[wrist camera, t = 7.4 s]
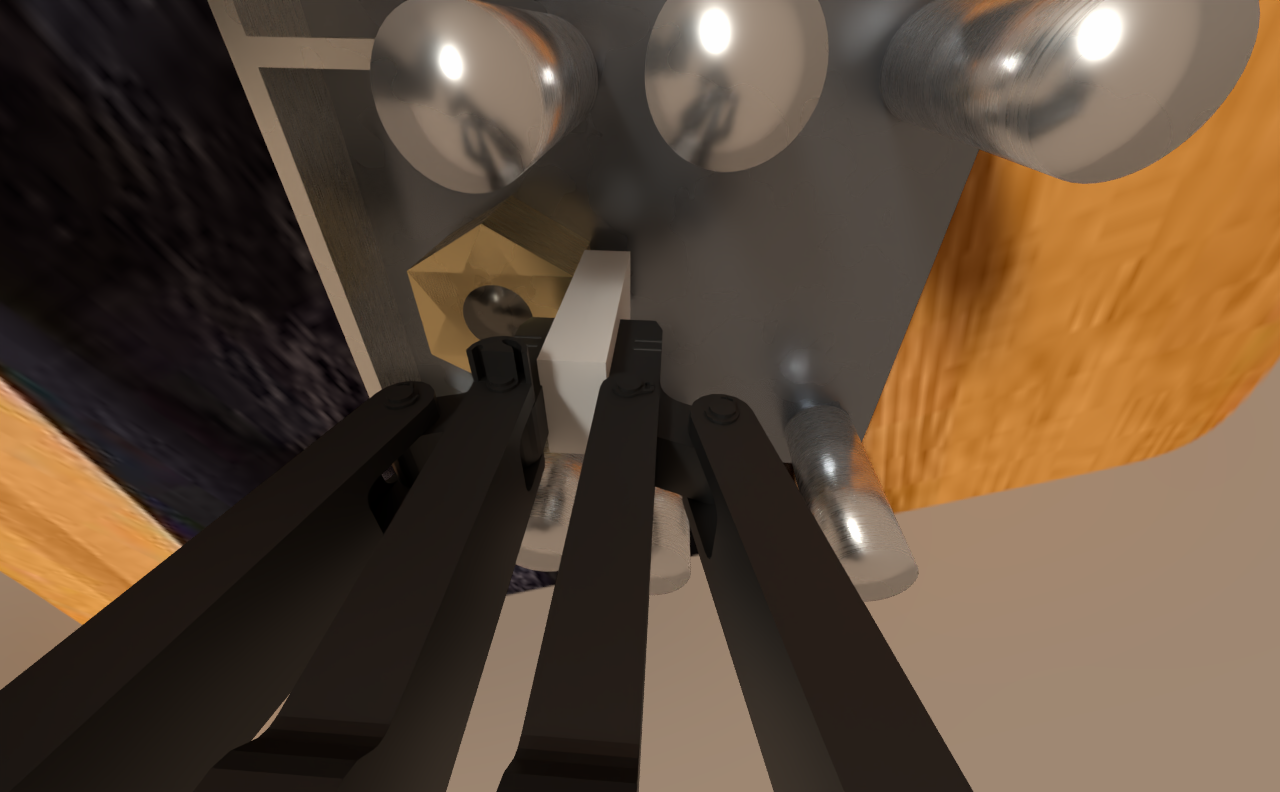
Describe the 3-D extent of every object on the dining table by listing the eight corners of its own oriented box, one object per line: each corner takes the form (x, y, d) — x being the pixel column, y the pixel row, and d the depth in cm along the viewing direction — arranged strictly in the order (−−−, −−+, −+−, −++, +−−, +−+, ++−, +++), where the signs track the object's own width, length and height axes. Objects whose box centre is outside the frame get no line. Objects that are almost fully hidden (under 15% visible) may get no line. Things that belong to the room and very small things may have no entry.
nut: (471, 345, 19) (441, 389, 17) (436, 192, 16) (392, 221, 13) (595, 350, 19) (583, 396, 16) (587, 197, 15) (571, 227, 13)
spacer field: (428, 430, 23) (337, 575, 17) (272, -43, 13) (-107, -119, 7) (846, 454, 22) (912, 614, 16) (1033, -32, 12) (1410, -106, 6)
